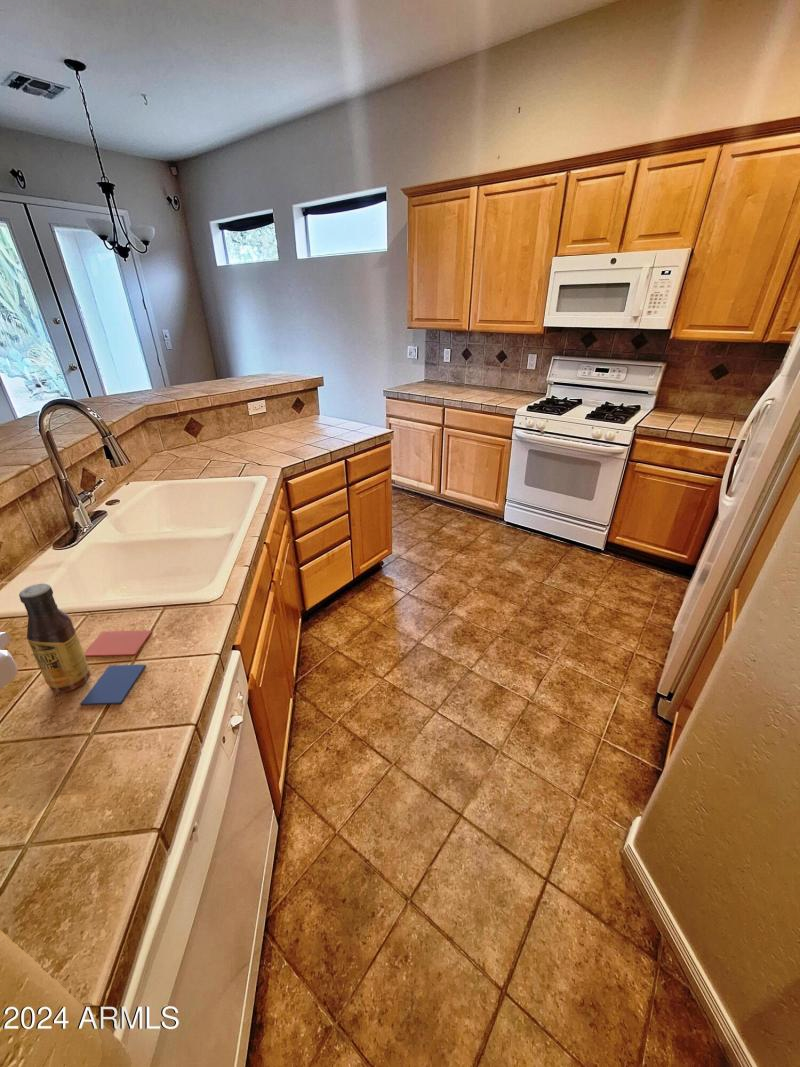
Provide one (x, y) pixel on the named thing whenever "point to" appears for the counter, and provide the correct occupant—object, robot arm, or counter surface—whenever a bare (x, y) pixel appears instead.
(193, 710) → the counter surface
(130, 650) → the terracotta mat
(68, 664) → the sauce bottle
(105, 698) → the blue mat
